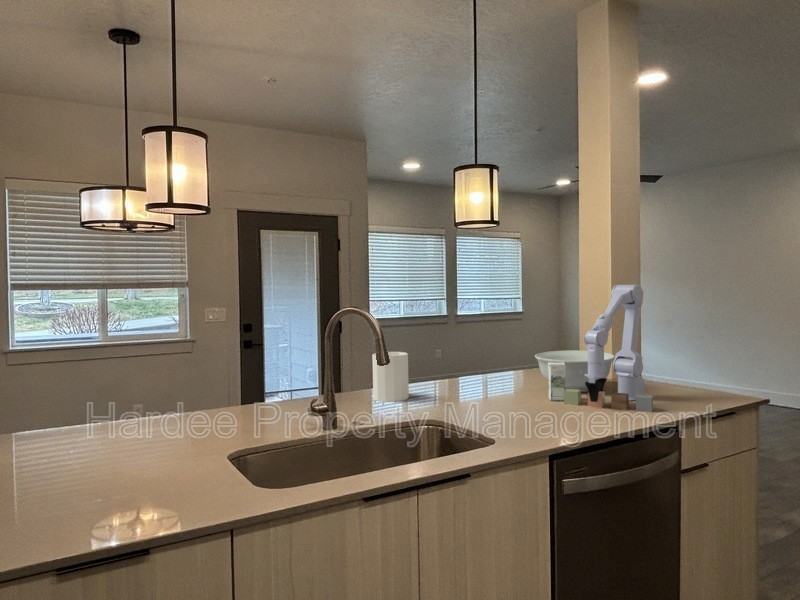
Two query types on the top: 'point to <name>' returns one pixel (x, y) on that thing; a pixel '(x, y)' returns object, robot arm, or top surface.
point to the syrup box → (556, 381)
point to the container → (391, 378)
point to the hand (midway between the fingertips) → (596, 399)
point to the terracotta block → (599, 402)
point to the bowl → (572, 366)
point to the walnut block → (620, 401)
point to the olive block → (572, 396)
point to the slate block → (644, 403)
